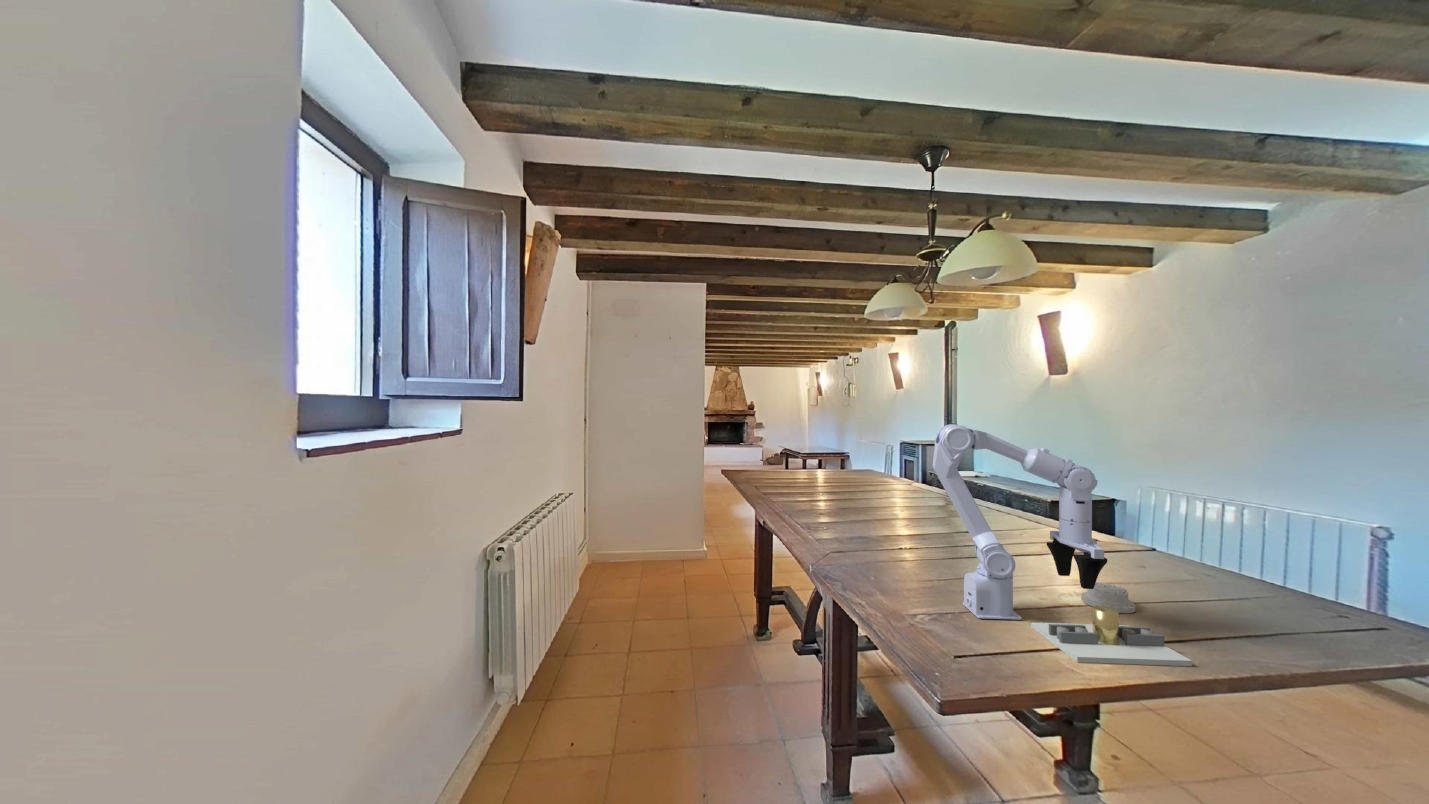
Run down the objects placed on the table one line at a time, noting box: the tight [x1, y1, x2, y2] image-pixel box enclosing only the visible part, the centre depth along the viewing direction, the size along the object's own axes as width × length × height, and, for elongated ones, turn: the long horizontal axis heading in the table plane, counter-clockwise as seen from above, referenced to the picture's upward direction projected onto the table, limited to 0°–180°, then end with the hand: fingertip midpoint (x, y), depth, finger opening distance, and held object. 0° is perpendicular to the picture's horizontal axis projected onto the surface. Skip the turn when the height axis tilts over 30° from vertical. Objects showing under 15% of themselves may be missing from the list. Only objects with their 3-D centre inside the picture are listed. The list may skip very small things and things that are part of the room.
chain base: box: [1030, 622, 1193, 667], centre depth 94 cm, size 20×14×3 cm
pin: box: [1091, 605, 1120, 645], centre depth 94 cm, size 4×4×6 cm
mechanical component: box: [1080, 581, 1136, 614], centre depth 113 cm, size 10×4×10 cm
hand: (1075, 581), depth 104 cm, fingers open, 7 cm apart
